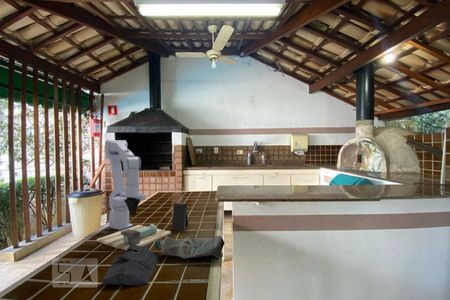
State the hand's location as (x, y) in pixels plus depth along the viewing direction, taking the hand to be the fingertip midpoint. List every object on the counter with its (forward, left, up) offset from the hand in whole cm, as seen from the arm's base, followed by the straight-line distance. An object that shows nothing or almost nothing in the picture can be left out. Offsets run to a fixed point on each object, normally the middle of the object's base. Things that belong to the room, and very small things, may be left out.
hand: (132, 214), depth 110 cm
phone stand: (+11, +19, -10) cm, 24 cm away
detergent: (+34, -3, -10) cm, 36 cm away
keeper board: (+2, -1, -9) cm, 10 cm away
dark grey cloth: (+24, -20, -10) cm, 34 cm away
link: (+7, -1, -8) cm, 11 cm away
